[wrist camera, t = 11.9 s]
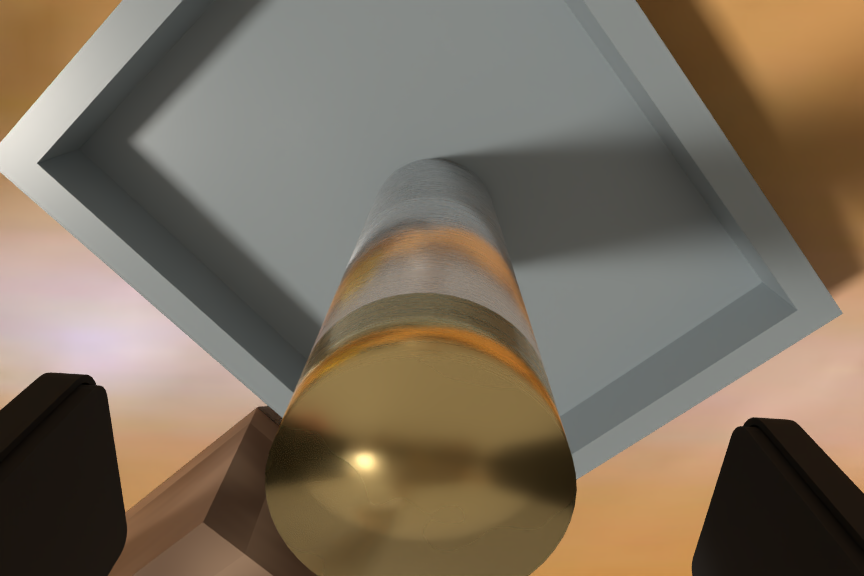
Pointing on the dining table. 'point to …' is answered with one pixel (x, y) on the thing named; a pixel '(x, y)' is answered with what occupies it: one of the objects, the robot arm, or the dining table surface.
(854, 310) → the dining table surface
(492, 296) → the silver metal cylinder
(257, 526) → the holder block
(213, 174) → the tray
